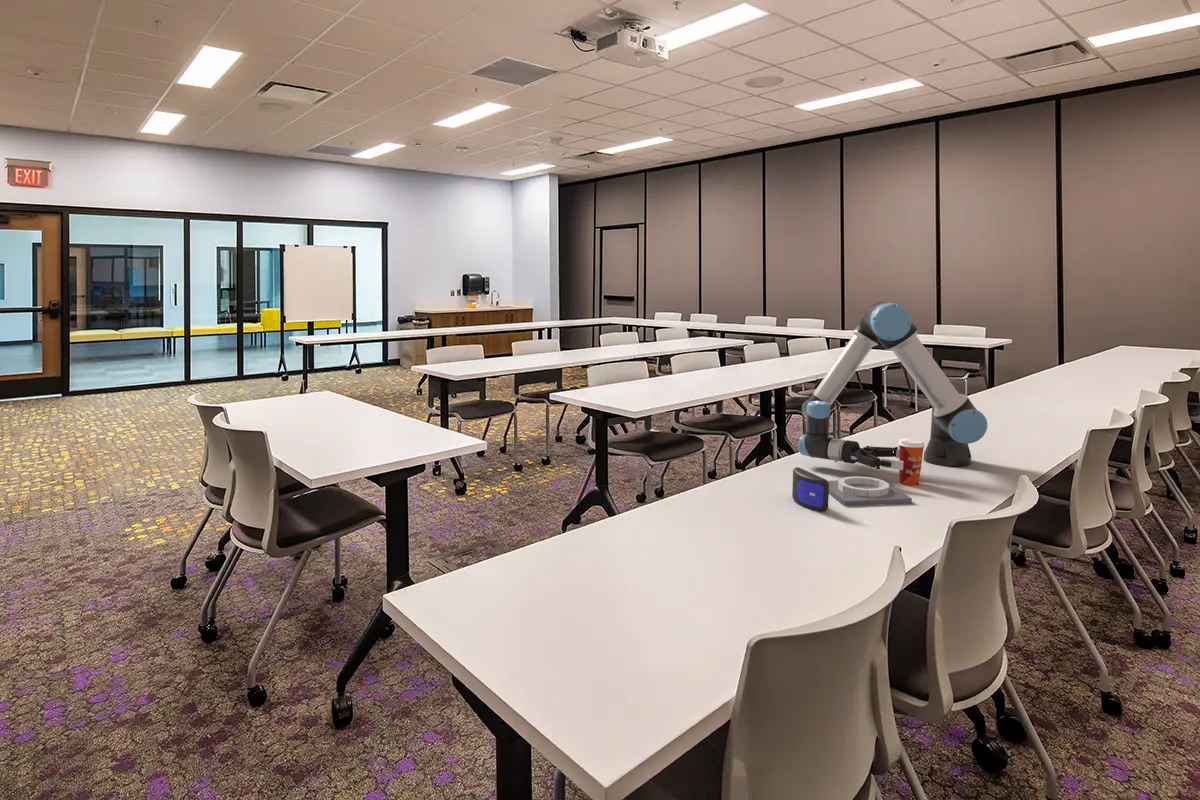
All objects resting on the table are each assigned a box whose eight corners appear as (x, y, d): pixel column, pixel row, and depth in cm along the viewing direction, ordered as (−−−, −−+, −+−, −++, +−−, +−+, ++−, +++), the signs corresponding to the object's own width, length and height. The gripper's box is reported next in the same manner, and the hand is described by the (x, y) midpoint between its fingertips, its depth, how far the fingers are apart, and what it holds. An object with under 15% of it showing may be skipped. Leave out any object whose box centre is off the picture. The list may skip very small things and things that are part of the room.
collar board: (880, 483, 221) (880, 472, 220) (911, 503, 201) (912, 491, 201) (818, 485, 220) (818, 475, 219) (844, 506, 200) (844, 494, 200)
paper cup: (911, 488, 215) (913, 444, 213) (890, 482, 222) (893, 439, 220) (928, 484, 219) (930, 441, 216) (907, 478, 226) (909, 436, 223)
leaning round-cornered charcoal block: (783, 497, 209) (784, 467, 208) (797, 495, 211) (798, 465, 209) (815, 514, 194) (816, 481, 192) (829, 512, 195) (830, 480, 194)
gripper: (858, 454, 243) (922, 464, 229) (828, 469, 224) (895, 481, 210) (859, 433, 241) (923, 442, 227) (829, 447, 223) (896, 457, 209)
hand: (910, 461), depth 219 cm, fingers open, 13 cm apart
